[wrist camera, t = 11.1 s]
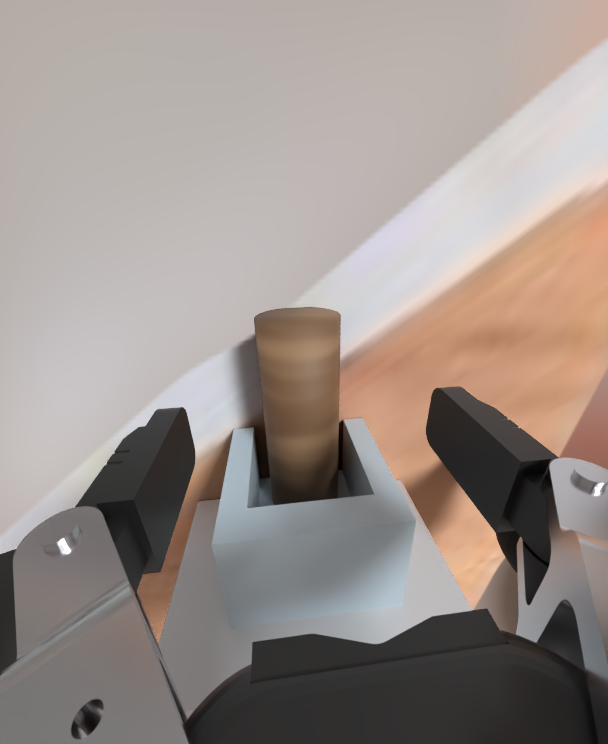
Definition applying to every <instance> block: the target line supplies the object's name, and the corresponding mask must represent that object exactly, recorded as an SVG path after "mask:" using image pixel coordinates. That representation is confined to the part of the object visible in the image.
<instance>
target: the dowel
mask: <svg viewBox="0 0 608 744" xmlns="http://www.w3.org/2000/svg"><path fill="white" fill-rule="evenodd" d="M340 322H341V315H340V314H339V313H338V312H336V311H334V310H330V309H325V308H316V307H304V308H282V309H275V310H270V311H266V312H263V313H260V314H258V315H257V316H255V318H254V323H255V333H256V343H257V353H258V363H259V373H260V382H261V392H262V402H263V412H264V422H265V432H266V442H267V452H268V461H269V471H270V481H271V491H272V500H273V504H274V505H281V504H290V503H299V502H309V501H318V500H327V499H336V498H337V496H338V438H339V380H340Z"/></svg>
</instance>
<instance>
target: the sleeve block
mask: <svg viewBox="0 0 608 744" xmlns="http://www.w3.org/2000/svg"><path fill="white" fill-rule="evenodd" d="M415 526H416V519H415V517H414V515H413V513H412V511H411V509H410V507H409V505H408V503H407V502H406V500H405V498H404V496H403V494H402V492H401V490H400V488H399V486H398V485H397V483H396V481H395V479H394V477H393V475H392V473H391V471H390V469H389V467H388V466H387V464H386V462H385V460H384V458H383V456H382V454H381V452H380V450H379V448H378V447H377V445H376V443H375V441H374V439H373V437H372V435H371V433H370V431H369V429H368V428H367V426H366V424H365V422H364V420H363V418H357V419H345V420H343V461H342V470H340V471H338V496H337V498H336V499H327V500H318V501H309V502H299V503H290V504H281V505H274V504H273V500H272V491H271V481H270V478H261V479H260V475H259V466H258V458H257V450H256V441H255V433H254V427H253V428H242V429H234V430H233V435H232V441H231V446H230V451H229V456H228V462H227V467H226V472H225V477H224V483H223V488H222V493H221V498H220V504H219V509H218V514H217V519H216V525H215V530H214V535H213V540H212V548H213V552H214V557H215V561H216V565H217V570H218V574H219V578H220V583H221V587H222V592H223V596H224V600H225V605H226V609H227V613H228V618H229V622H230V626H231V629H234V628H241V627H248V626H255V625H262V624H269V623H276V622H283V621H290V620H297V619H304V618H311V617H318V616H325V615H333V614H340V613H347V612H354V611H361V610H368V609H375V608H382V607H389V606H396V605H403V598H404V592H405V586H406V580H407V574H408V568H409V562H410V556H411V550H412V544H413V538H414V532H415Z"/></svg>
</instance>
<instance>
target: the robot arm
mask: <svg viewBox="0 0 608 744" xmlns="http://www.w3.org/2000/svg"><path fill="white" fill-rule="evenodd" d="M426 435H427V440H428V442H429V444H430V446H431V448H432V449H433V450H434V452H435V453H436V454H437V456H438V457H439V458H440V460H441V461H442V462H443V464H444V465H445V466H446V468H447V469H448V470H449V471H450V473H451V474H452V475H453V477H454V478H455V479H456V481H457V482H458V483H459V485H460V486H461V487H462V489H463V490H464V491H465V493H466V494H467V495H468V497H469V498H470V499H471V501H472V502H473V503H474V505H475V506H476V507H477V509H478V510H479V511H480V512H481V514H482V515H483V516H484V518H485V519H486V520H487V522H488V523H489V524H490V526H491V527H492V528H493V530H494V531H495V532H496V533H498V532H506V531H516V532H517V533H518V534H519V535H520V538H519V541H518V543H517V568H518V595H519V596H518V598H519V619H518V626H517V631H516V635H515V634H512V633H509V632H505V631H502V630H499V628H498V627H497V625H496V623H495V622H494V620H493V618H492V616H491V615H490V613H489V611H488V609H480V610H473V611H466V612H459V613H452V614H445V615H438V616H432V617H430V618H428V619H426V620H424V621H423V622H421V623H419V624H417V625H415V626H413V627H411V628H410V629H408V630H406V631H404V632H402V633H400V634H398V635H397V636H395V637H393V638H391V639H389V640H387V641H385V642H383V643H380V644H370V643H365V642H359V641H353V640H348V639H342V638H336V637H331V636H325V635H319V634H314V633H312V634H305V635H298V636H291V637H284V638H277V639H270V640H263V641H256V642H252V662H251V664H250V665H248V666H246V667H244V668H242V669H240V670H239V671H237V672H236V673H234V674H233V675H232V676H230V677H229V678H227V679H226V680H224V681H223V682H222V683H221V684H220V685H219V686H218V687H216V688H215V689H214V690H213V691H212V692H211V693H210V694H209V695H208V696H207V697H206V698H205V699H204V700H203V701H202V702H201V703H200V705H199V706H198V707H197V708H196V709H195V710H194V711H193V713H192V714H191V715H190V717H189V718H188V716H187V713H186V711H185V708H184V706H183V703H182V701H181V698H180V696H179V694H178V691H177V689H176V687H175V684H174V682H173V679H172V677H171V675H170V672H169V670H168V667H167V665H166V663H165V660H164V658H163V655H162V653H161V650H160V648H159V645H158V642H157V640H156V637H155V635H154V632H153V630H152V627H151V625H150V622H149V620H148V617H147V615H146V612H145V610H144V607H143V605H142V602H141V600H140V597H139V595H138V593H137V588H138V586H139V583H140V580H141V577H142V575H143V574H147V573H155V572H161V569H162V566H163V562H164V559H165V556H166V553H167V550H168V547H169V544H170V541H171V538H172V535H173V531H174V528H175V525H176V522H177V519H178V516H179V513H180V510H181V507H182V503H183V500H184V497H185V494H186V491H187V488H188V485H189V482H190V479H191V475H192V472H193V469H194V465H195V448H194V443H193V439H192V434H191V430H190V426H189V421H188V417H187V413H186V410H185V409H184V408H183V407H181V408H168V409H158V410H156V411H155V412H154V414H153V416H152V417H151V419H150V420H149V422H148V423H147V425H146V426H145V427H138V428H137V429H136V430H134V431H133V432H132V433H130V434H129V435H128V436H127V437H125V438H124V439H123V440H122V442H121V443H120V445H119V446H118V448H117V449H116V450H115V454H113V455H112V456H111V457H110V459H109V460H108V462H107V465H105V466H104V467H103V469H102V470H101V471H100V473H99V474H98V476H97V477H96V479H95V480H94V481H93V483H92V484H91V486H90V487H89V488H88V490H87V491H86V493H85V494H84V495H83V497H82V498H81V500H80V501H79V503H78V504H77V505H76V507H75V508H72V509H68V510H66V511H63V512H61V513H58V514H56V515H54V516H52V517H50V518H49V519H47V520H45V521H44V522H42V523H41V524H40V525H38V526H37V527H36V528H34V529H33V530H32V531H31V532H30V533H29V534H28V535H27V536H26V537H25V538H24V539H23V540H22V542H21V543H20V544H19V546H18V547H17V549H15V550H12V551H9V552H6V553H3V554H0V744H608V470H606V469H604V468H602V467H600V466H598V465H596V464H593V463H590V462H587V461H584V460H579V459H574V458H559V457H557V456H556V455H555V454H553V453H552V452H551V451H550V450H548V449H547V448H546V447H544V446H543V445H542V444H540V443H539V442H538V441H537V440H535V439H534V438H533V437H531V436H530V435H529V434H528V433H526V432H525V431H524V430H522V429H521V428H518V426H517V425H516V424H515V423H513V422H512V421H511V420H508V419H507V417H506V416H504V415H503V414H502V413H501V412H499V411H498V410H497V409H495V408H494V407H492V406H490V405H487V404H485V403H483V402H481V401H479V400H477V399H476V398H475V397H473V396H472V395H471V394H470V393H468V392H467V391H466V390H465V389H463V388H462V387H446V388H436V389H435V390H434V391H433V393H432V397H431V403H430V408H429V414H428V420H427V426H426Z"/></svg>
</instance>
